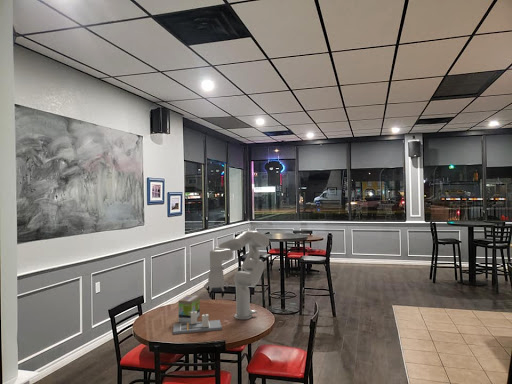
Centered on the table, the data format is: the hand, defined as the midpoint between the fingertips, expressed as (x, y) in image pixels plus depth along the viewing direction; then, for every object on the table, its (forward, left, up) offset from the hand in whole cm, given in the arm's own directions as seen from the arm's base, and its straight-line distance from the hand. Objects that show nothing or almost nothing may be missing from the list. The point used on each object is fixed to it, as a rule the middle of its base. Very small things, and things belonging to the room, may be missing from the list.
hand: (216, 297), depth 224 cm
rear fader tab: (+15, -8, -18) cm, 24 cm away
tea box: (+18, -22, -20) cm, 35 cm away
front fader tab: (+8, 0, -18) cm, 19 cm away
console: (+13, -4, -20) cm, 24 cm away
